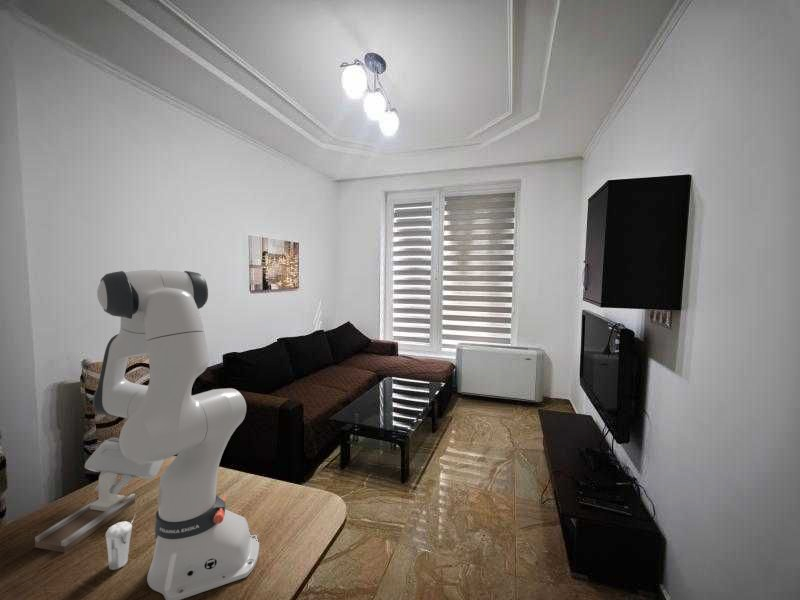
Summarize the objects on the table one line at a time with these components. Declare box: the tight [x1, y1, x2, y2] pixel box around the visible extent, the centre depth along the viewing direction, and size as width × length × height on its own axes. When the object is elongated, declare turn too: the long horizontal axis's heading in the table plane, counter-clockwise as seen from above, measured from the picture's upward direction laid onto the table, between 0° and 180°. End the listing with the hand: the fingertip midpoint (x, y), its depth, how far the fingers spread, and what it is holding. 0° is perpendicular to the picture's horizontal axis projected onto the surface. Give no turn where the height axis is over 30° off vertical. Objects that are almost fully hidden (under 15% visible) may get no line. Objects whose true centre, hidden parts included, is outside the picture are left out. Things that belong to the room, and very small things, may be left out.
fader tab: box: [90, 472, 126, 512], centre depth 91 cm, size 5×5×8 cm
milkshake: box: [105, 513, 137, 571], centre depth 76 cm, size 4×5×10 cm
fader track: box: [34, 493, 136, 554], centre depth 87 cm, size 18×8×3 cm, turn 173°
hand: (105, 492), depth 91 cm, fingers closed on fader tab, 3 cm apart
